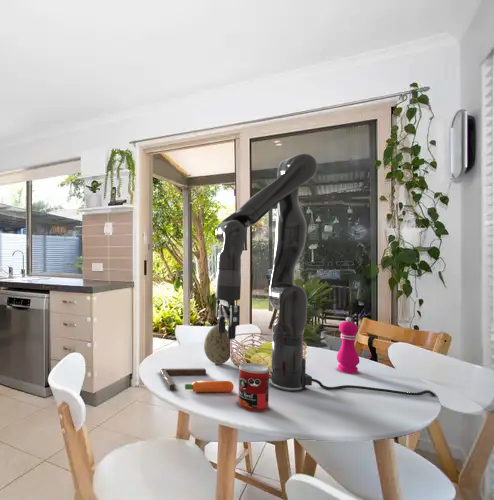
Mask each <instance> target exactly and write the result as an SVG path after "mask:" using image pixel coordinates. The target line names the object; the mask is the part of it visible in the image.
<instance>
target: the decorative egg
mask: <svg viewBox="0 0 494 500" xmlns="http://www.w3.org/2000/svg"><path fill="white" fill-rule="evenodd" d="M227 335H228V329H226V328H225V333H219V332H218V324H216V325H214V326H212V328H211V329H209V331H208V332H207V334H206V336H205V339H204V342H203V349H204V354H205V356H206V357H207V359H208V360H209V361H210V362H211V363H213V364H216V365H222V364H224V363H227V361H229V360H230V358H231V357H230V339H229V338H228V337H227Z"/></svg>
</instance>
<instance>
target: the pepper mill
mask: <svg viewBox="0 0 494 500" xmlns="http://www.w3.org/2000/svg"><path fill="white" fill-rule="evenodd" d="M338 329H339V332H340V338H341V346H340V348H339V350H338V352H337V355H336V360H337V362H338V364H337V370H338V371H339V372H340V373H345V374H352V375H355V374H358V372H359V368H358V365H359V364H360V355H359V354H358V352H357V349H356V347H355V345H356V344H355V341H356V340H357V335H356V334H357V333H358V332H359V327H358V325H357V324H356V323H355V322H352V318H351V317H349V316H347V317H345V320H344V321H342V322H341V323H340V324H339V325H338Z"/></svg>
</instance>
